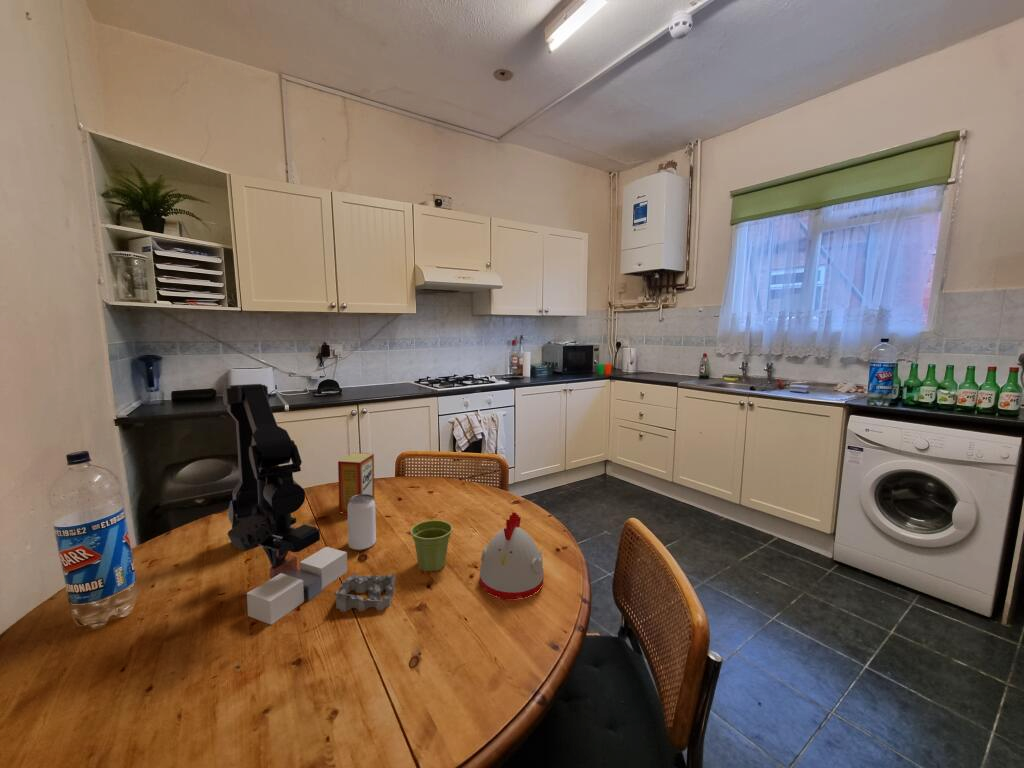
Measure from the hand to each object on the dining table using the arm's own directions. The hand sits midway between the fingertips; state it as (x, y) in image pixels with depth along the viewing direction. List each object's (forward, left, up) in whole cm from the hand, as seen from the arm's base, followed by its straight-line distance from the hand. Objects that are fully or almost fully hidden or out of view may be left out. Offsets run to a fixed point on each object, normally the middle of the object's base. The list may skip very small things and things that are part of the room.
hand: (277, 569), depth 84 cm
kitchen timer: (+44, +21, -4) cm, 49 cm away
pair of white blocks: (+7, 0, -3) cm, 8 cm away
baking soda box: (-13, +37, -3) cm, 39 cm away
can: (+4, +20, -3) cm, 21 cm away
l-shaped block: (+7, 0, -3) cm, 7 cm away
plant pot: (+25, +19, -3) cm, 32 cm away
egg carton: (+20, +3, -4) cm, 21 cm away
